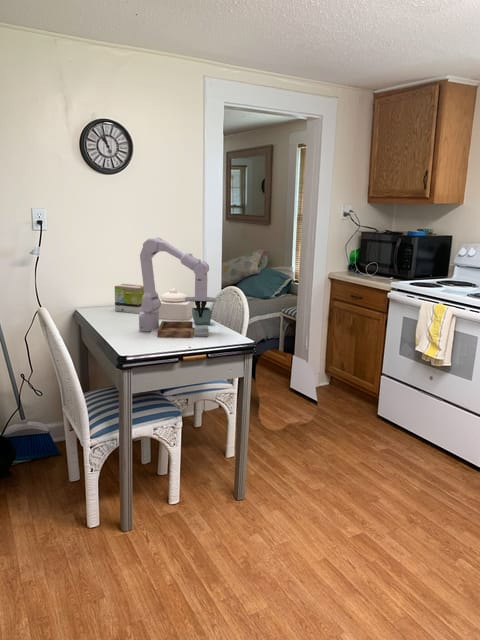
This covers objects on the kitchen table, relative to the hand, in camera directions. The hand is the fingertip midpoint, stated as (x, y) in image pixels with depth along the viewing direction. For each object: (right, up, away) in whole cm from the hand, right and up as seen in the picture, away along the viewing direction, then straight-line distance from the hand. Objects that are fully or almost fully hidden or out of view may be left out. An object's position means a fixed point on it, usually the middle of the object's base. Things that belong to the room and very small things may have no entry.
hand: (200, 317), depth 236 cm
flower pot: (-1, -5, +18) cm, 19 cm away
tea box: (-44, +3, +51) cm, 67 cm away
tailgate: (-3, -7, -1) cm, 8 cm away
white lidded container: (-17, 0, +40) cm, 44 cm away
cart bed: (-11, -9, -1) cm, 14 cm away
